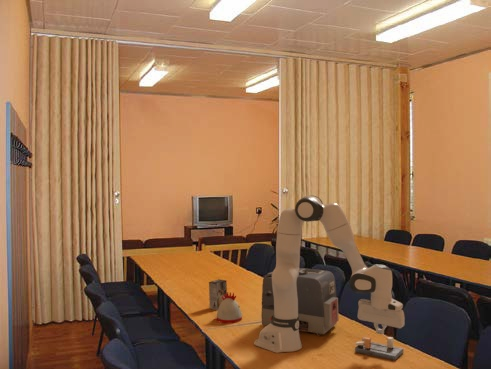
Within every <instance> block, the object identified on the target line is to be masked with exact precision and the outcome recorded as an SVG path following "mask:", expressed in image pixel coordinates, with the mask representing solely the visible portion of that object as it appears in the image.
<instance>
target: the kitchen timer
mask: <svg viewBox="0 0 491 369" xmlns="http://www.w3.org/2000/svg"><path fill="white" fill-rule="evenodd" d="M224 296H225V298H224V297H223V296H222V298H223V301H222V302H221V304H220V306H219V308H218V310H217V312H216V321H217V322H219V323H223V324H234V323H239V322H241V321H242V320H243V315H242V310H241V308H240V307H241V306H240V305H239V303H238V302H237V301H236V298H237V295H235V292H232V293H231V292H228V291H227V296H226V295H225V294H224Z"/></svg>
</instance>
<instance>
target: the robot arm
mask: <svg viewBox="0 0 491 369" xmlns="http://www.w3.org/2000/svg"><path fill="white" fill-rule="evenodd" d="M317 221H319V222H321V224H322V225H323V228H324V230H325V233H326V236H327V238H328V239H329V241H330V242H331V244H332V245H333V246H334V247H337V248H338V249H340V251H342V253H343V254H344V255H345V257H346V259H347V262H348V263H349V266H350V268H351V276H350V278H349V281H348V282H349V283H348V284H349V287H350V289H351V290H352V291H353V292H354V293H356V294H361V295H363V294H365V295H366V294H370V299H367V298H366V299H365V298H361V299H359V300H358V306H357V307H358V310H357V319H358V320H360V321H365V322H369V323H373V326H374V329H375V333H376V334H379V335H384V334H385V330H386V328H387V327H393V328H396V329H402V328H403V327H405V312H404V310H403V307H404V304H403V303H402V302H401V301H398V300H396V299H394V298H393V293H392V288H393V272H392V270H391V268H390V267H389V266H387V265H384V264H377V263H376V264H373V265H372V266H368V265H367V264H366V263H365V261H364V259H363V257H362V256H361V254H360V250H359V249H358V247H357V244H356V241H355V236H354V232H353V229H352V226H351V223H350V222H349V219H348V218H347V214H345V211H344V210H343V208H342V207H341V206H340V205H339V204H338V203H336V202H329V203H326V204H324V203H323V201H322V200H321V199H320V197H319V196H316V195H306V196H304V197H302V198H300V199H299V200H298V201H297V202H296V204H295V206H294V208H287V209H283V210H282V211H281V213H280V215H279V219H278V225H277V232H276V241H275V242H276V243H275V256H276V257H275V258H276V259H275V261H276V264H275V268H274V269H273V271H272V272H273V273H272V287H273V295H274V315H273V316H272V317H270V319H269V320H271V319H272V321H271V323H270V324H269V325H267V326H266V325H265V327H263V328H261V330H260V331H259V337H258V338H257V339H255V341H254V344H253V345H254V346H257V347H259V348H262V349H264V350H268V351H270V352H273V353H285V352H286V353H287V352H289V353H290V352H296V351H299V350H301V349H302V348H303V344H302V341H301V336H300V330H299V316H298V297H297V286H296V281H297V278H298V276H299V268H300V262H301V261H300V258H301V244H302V243H301V242H302V241H301V240H302V229H303V225H304V222H307V223H308V222H309V223H310V222H317ZM379 325H381V327H382V328H380V326H379Z"/></svg>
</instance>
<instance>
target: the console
mask: <svg viewBox="0 0 491 369" xmlns="http://www.w3.org/2000/svg"><path fill="white" fill-rule="evenodd" d="M354 353H357V354H363V355H366V356H371V357H375V358H381V359H387V360H390V361H396V360H398V359H399V358H400V356H402V354H404V348H403V347H398V346H394V345H393V347H392V348H389V347H387V344H383V343H379V342H375V341H374V342H373V341H371V347H370V348H365V344H364V345H356V347H354Z"/></svg>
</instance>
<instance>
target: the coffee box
mask: <svg viewBox="0 0 491 369" xmlns="http://www.w3.org/2000/svg"><path fill="white" fill-rule="evenodd" d="M227 285H228V284H227V280H224V279H214V280H212V281H209V282H208V292H209V295H208V296H209V300H208V301H209V309H210V310H214V311H218V308H219V306H220V304H221V302H222V301H223V298H222V296H223V297H224V298H225V296H224V294H225V295H226V296H227V292H228V289H227V288H228V287H227Z"/></svg>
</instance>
